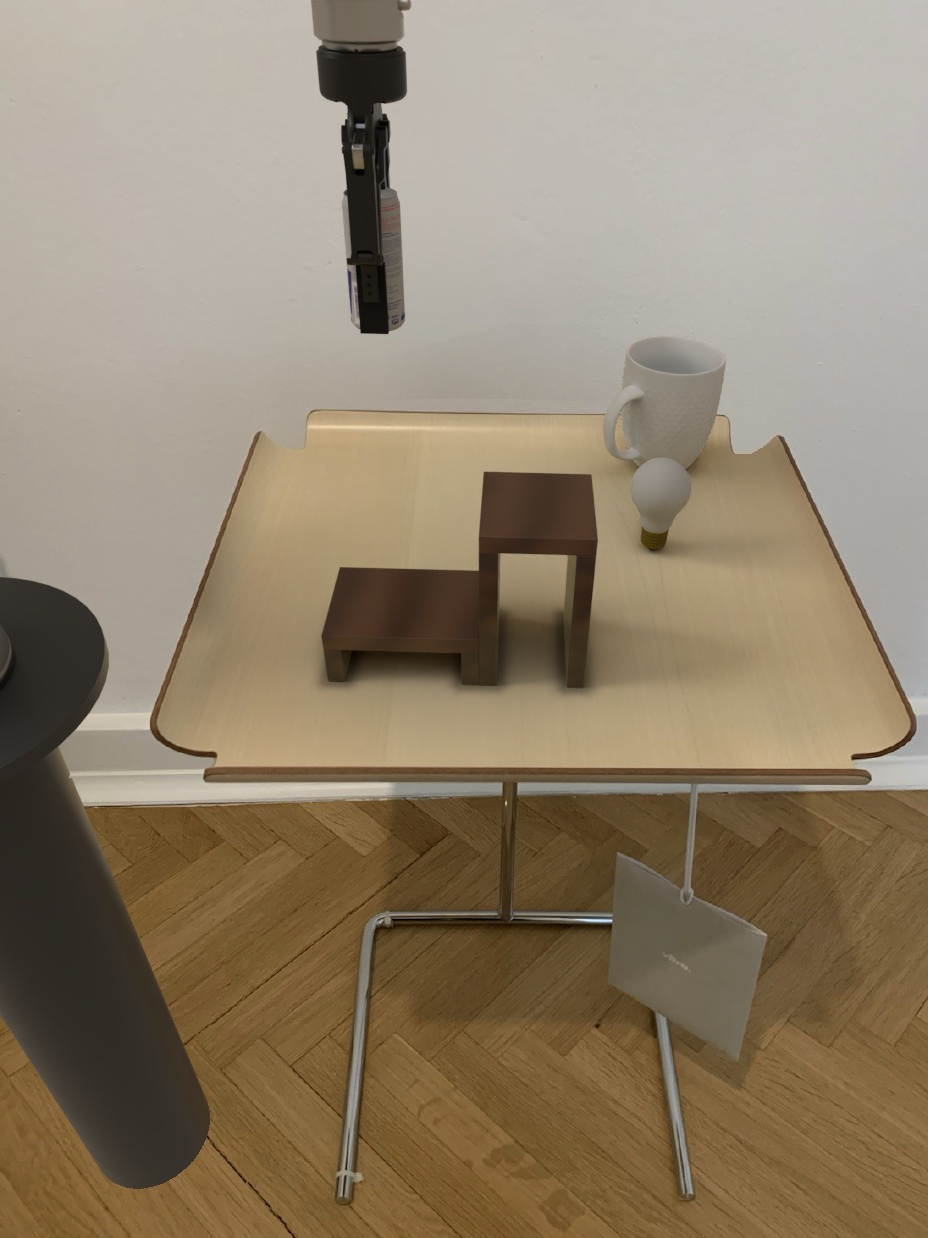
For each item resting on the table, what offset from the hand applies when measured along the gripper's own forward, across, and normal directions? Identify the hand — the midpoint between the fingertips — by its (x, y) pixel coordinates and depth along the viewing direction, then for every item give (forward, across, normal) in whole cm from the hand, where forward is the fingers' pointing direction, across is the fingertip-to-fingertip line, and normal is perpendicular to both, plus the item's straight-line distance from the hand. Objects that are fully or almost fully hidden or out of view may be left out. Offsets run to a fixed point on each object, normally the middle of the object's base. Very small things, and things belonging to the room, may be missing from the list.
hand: (378, 320), depth 94 cm
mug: (+18, +6, -31) cm, 36 cm away
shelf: (+18, -29, -9) cm, 36 cm away
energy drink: (0, 0, 0) cm, 0 cm away
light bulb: (+18, -12, -28) cm, 36 cm away
